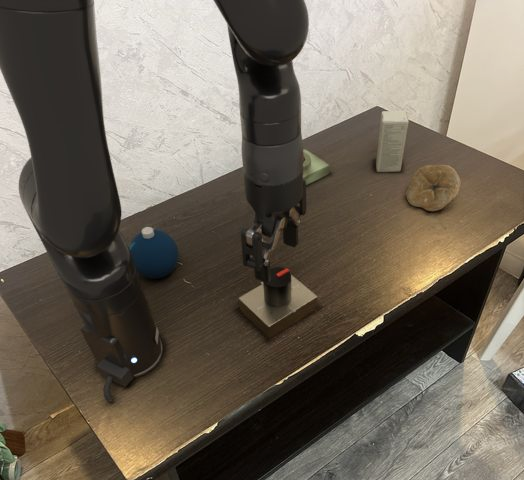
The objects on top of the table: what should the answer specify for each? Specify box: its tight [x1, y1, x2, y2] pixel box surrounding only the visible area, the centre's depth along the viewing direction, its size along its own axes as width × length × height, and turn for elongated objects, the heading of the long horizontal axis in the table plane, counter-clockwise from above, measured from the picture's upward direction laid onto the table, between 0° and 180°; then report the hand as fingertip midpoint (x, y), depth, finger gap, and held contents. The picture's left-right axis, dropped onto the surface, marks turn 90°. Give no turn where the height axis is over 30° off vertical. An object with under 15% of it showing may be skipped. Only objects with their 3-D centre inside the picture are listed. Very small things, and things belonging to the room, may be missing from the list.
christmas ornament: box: [129, 226, 179, 279], centre depth 86 cm, size 8×8×10 cm
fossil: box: [405, 164, 462, 212], centre depth 97 cm, size 9×4×10 cm
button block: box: [303, 148, 330, 186], centre depth 105 cm, size 12×8×4 cm, turn 126°
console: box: [238, 274, 318, 340], centre depth 82 cm, size 10×9×3 cm
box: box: [375, 110, 410, 173], centre depth 103 cm, size 5×4×11 cm
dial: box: [262, 266, 292, 307], centre depth 79 cm, size 4×4×5 cm
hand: (277, 261), depth 75 cm, fingers open, 8 cm apart
